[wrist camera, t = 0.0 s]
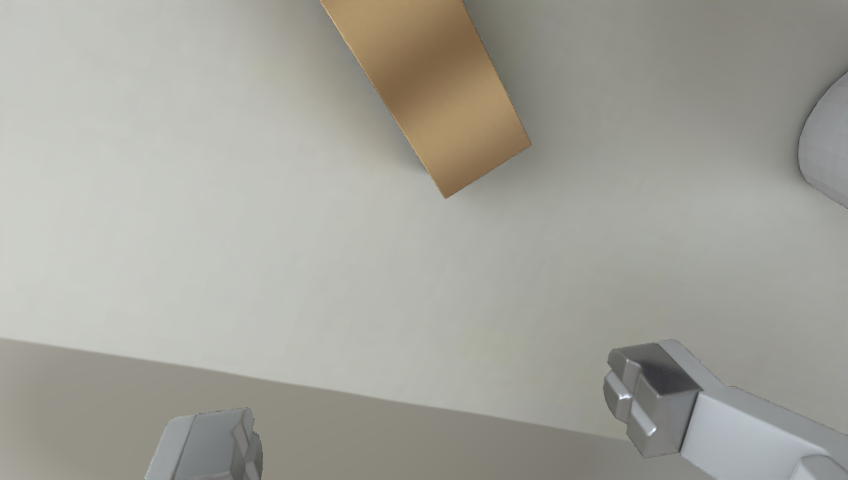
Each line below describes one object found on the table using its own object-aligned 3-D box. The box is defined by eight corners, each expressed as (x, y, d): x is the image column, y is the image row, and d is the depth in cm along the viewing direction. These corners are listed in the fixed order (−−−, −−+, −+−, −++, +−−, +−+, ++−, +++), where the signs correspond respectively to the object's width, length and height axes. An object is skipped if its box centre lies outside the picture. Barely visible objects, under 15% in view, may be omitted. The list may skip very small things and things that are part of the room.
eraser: (298, -35, 21) (290, -45, 17) (390, -101, 20) (402, -125, 17) (430, 174, 26) (445, 200, 23) (505, 127, 26) (532, 145, 22)
